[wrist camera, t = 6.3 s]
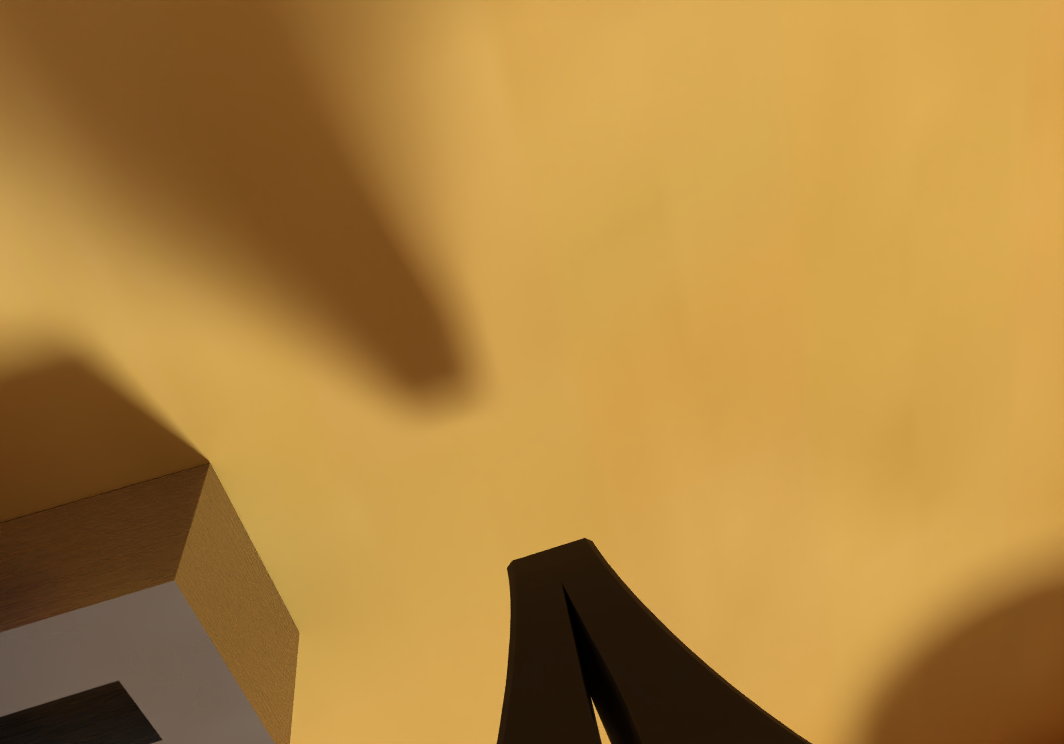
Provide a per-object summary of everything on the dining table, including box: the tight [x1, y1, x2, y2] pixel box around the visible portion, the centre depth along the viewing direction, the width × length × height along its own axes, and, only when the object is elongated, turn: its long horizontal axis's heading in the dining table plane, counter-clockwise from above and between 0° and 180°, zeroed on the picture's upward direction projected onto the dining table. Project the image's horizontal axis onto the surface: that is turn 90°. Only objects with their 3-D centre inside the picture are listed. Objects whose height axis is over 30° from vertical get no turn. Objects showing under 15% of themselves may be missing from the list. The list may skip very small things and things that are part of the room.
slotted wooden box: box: [0, 463, 299, 744], centre depth 13 cm, size 7×4×3 cm, turn 102°
